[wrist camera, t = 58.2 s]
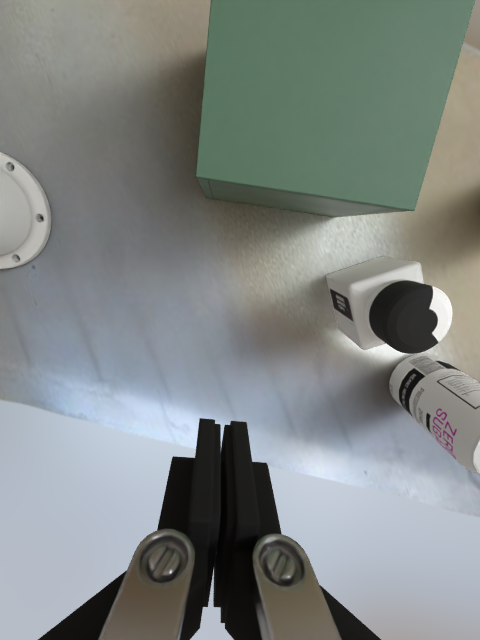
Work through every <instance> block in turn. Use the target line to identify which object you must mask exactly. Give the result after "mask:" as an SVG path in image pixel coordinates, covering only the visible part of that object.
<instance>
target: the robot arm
mask: <svg viewBox="0 0 480 640" xmlns="http://www.w3.org/2000/svg"><path fill="white" fill-rule="evenodd" d="M13 167H15V168H14V169H13ZM42 217H44V220H43V219H42ZM50 231H51V211H50V205H49V202H48V200H47V197H46V194H45V192H44V190H43V189H42V187H41V185H40V183H39V182H38V181H37V179H36V178H35V177H34V176H33V174H32V173H31V172H30V171H29V170H28V169H27V168H26V167H24V166H23V165H22V164H21V163H20V162H18V161H17V160H15V159H14V158H12V157H10V156H8V155H6V154H4V153H2V152H0V269H7V268H13V267H17V266H21V265H24V264H26V263H28V262H30V261H31V260H33V259H34V258H35V257H36V256H38V255H39V254H40V252H41V251H42V250H43V248H44V247H45V245H46V243H47V241H48V239H49V235H50ZM19 257H20V259H19ZM213 569H214V607H221V623H225V629H226V630H227V632H228V633H229V634H230V635H231V636H232V638H233V639H234V640H381V639H380V638H379V637H378V636H376V635H375V634H374V633H373V632H372V631H371V630H369V629H368V628H367V627H366V626H365V625H364V624H363V623H362V622H361V621H360V620H358V619H357V618H356V617H355V616H354V615H353V614H352V613H351V612H349V611H348V610H347V609H346V608H345V607H344V606H343V605H342V604H340V603H339V602H338V601H337V600H336V599H335V598H334V597H332V596H331V595H330V594H329V593H328V592H327V591H326V590H325V589H324V588H322V587H321V586H320V585H319V583H318V580H317V578H316V575H315V573H314V571H313V568H312V566H311V563H310V561H309V558H308V556H307V555H306V553H305V551H304V549H303V548H302V547H301V546H300V545H299V544H298V543H297V542H296V541H294V540H293V539H291V538H290V537H288V536H284V535H282V534H281V530H280V524H279V520H278V514H277V509H276V505H275V499H274V494H273V489H272V484H271V480H270V475H269V469H268V466H267V464H266V463H261V462H252V458H251V451H250V444H249V436H248V429H247V423H246V422H238V421H231V423H230V425H225V427H224V434H223V441H222V448H221V442H220V424H215V420H213V419H201V418H200V421H199V429H198V438H197V447H196V455H195V458H187V457H173V458H172V462H171V467H170V471H169V476H168V481H167V486H166V491H165V496H164V500H163V505H162V510H161V515H160V520H159V524H158V529H157V531H155V532H153V533H151V534H150V535H148V536H147V537H146V538H145V539H143V541H141V542H140V544H139V546H138V547H137V549H136V551H135V553H134V555H133V558H132V560H131V563H130V565H129V567H128V569H127V571H125V572H124V573H123V574H121V575H120V576H119V577H118V578H116V579H115V580H114V581H113V582H111V583H110V584H109V585H107V586H106V587H105V588H104V589H102V590H101V591H100V592H99V593H97V594H96V595H95V596H93V597H92V598H91V599H89V600H88V601H87V602H86V603H84V604H83V605H82V606H80V607H79V608H78V609H77V610H76V611H74V612H73V613H72V614H70V615H69V616H68V617H67V618H65V619H64V620H63V621H61V622H60V623H59V624H58V625H56V626H55V627H54V628H52V629H51V630H50V631H49V632H47V633H46V634H45V635H43V636H42V637H41V638H40V639H38V640H190V639H191V638H192V636H193V635H194V634H195V633H196V632H197V631H198V629H199V628H200V623H201V616H202V609H203V607H208V602H209V595H210V588H211V581H212V575H213Z"/></svg>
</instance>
